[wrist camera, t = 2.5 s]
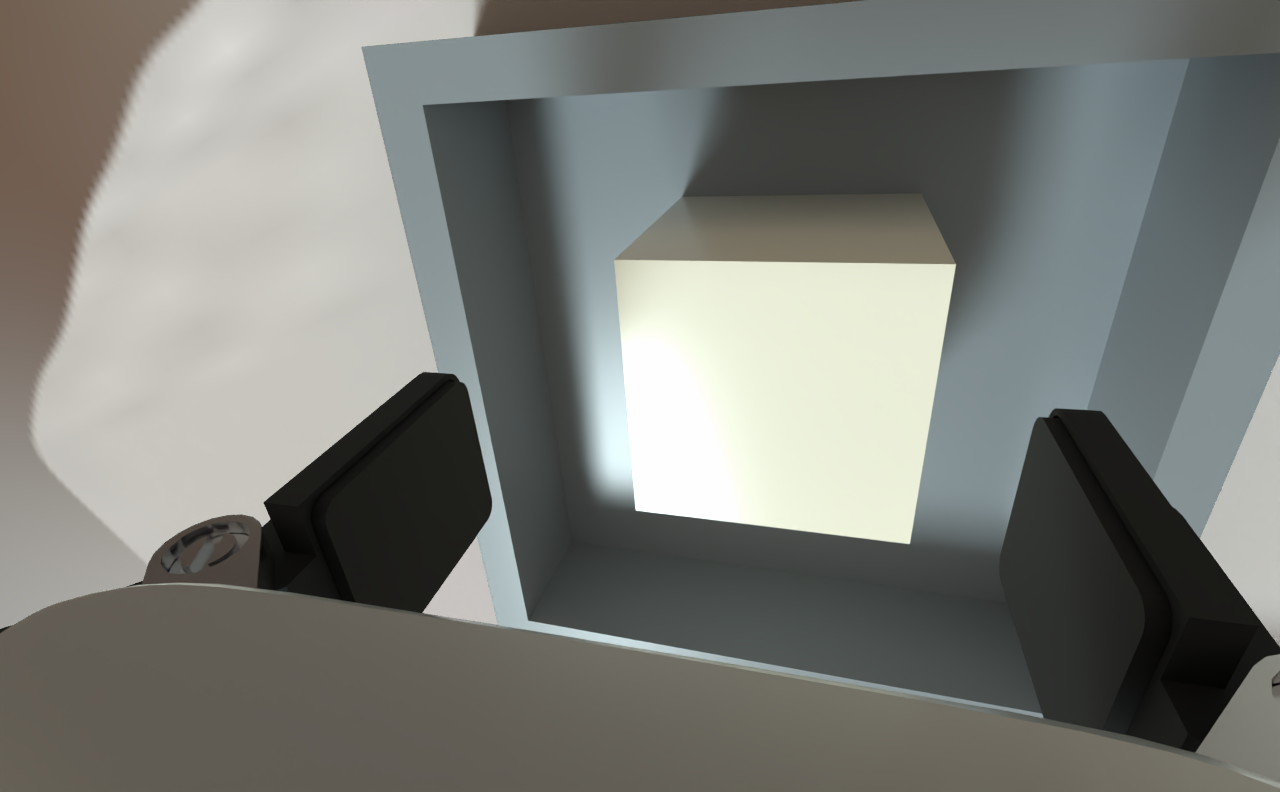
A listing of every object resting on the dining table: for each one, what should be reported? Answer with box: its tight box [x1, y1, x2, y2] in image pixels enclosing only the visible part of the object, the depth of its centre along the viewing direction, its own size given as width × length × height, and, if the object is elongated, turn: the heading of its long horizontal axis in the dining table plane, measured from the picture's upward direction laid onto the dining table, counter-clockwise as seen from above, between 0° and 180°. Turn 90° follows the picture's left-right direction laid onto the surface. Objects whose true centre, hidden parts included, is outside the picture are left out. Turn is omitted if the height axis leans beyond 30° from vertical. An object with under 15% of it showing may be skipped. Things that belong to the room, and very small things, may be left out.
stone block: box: [614, 193, 956, 544], centre depth 15 cm, size 6×6×6 cm
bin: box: [362, 0, 1280, 718], centre depth 18 cm, size 18×18×5 cm
